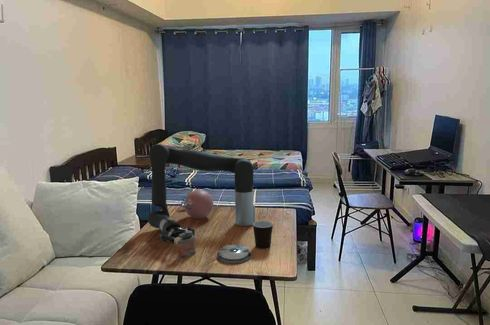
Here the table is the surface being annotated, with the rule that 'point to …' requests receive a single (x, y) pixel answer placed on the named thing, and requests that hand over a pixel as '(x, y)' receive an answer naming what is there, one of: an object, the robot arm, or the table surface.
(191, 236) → the lighter
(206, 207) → the balloon
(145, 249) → the table surface
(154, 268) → the table surface
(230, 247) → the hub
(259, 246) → the coffee mug
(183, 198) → the gear
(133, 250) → the table surface
